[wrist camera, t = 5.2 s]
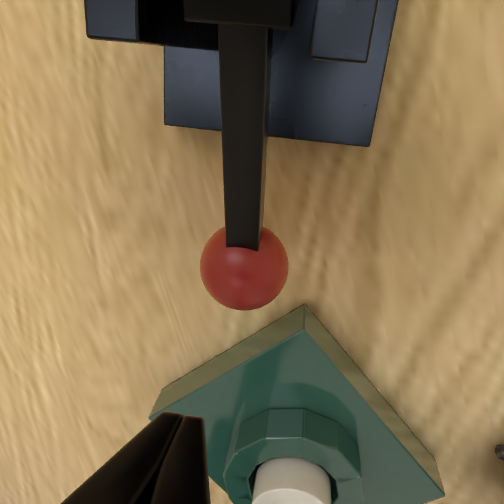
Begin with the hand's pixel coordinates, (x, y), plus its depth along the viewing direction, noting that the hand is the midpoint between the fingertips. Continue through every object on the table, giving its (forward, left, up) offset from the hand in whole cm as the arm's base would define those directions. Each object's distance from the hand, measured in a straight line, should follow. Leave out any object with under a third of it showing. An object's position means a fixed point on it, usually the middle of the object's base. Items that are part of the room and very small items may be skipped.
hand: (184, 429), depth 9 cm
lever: (+3, +4, -7) cm, 9 cm away
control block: (-6, -10, -12) cm, 17 cm away
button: (-6, -10, -8) cm, 14 cm away
